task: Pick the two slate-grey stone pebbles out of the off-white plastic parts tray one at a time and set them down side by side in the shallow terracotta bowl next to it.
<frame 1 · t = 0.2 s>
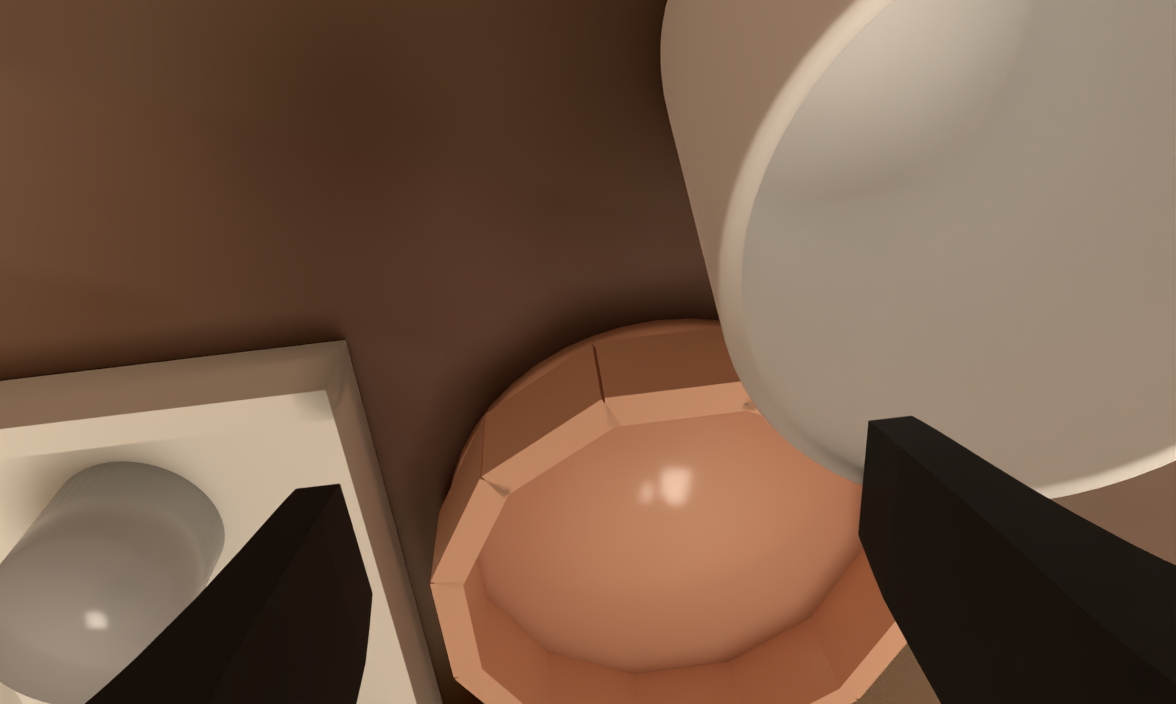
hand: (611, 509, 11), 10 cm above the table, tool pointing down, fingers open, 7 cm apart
tray: (202, 623, 25), on the table
bowl: (668, 514, 25), on the table
pebble b: (140, 527, 22), point 1 cm above the table, touching tray
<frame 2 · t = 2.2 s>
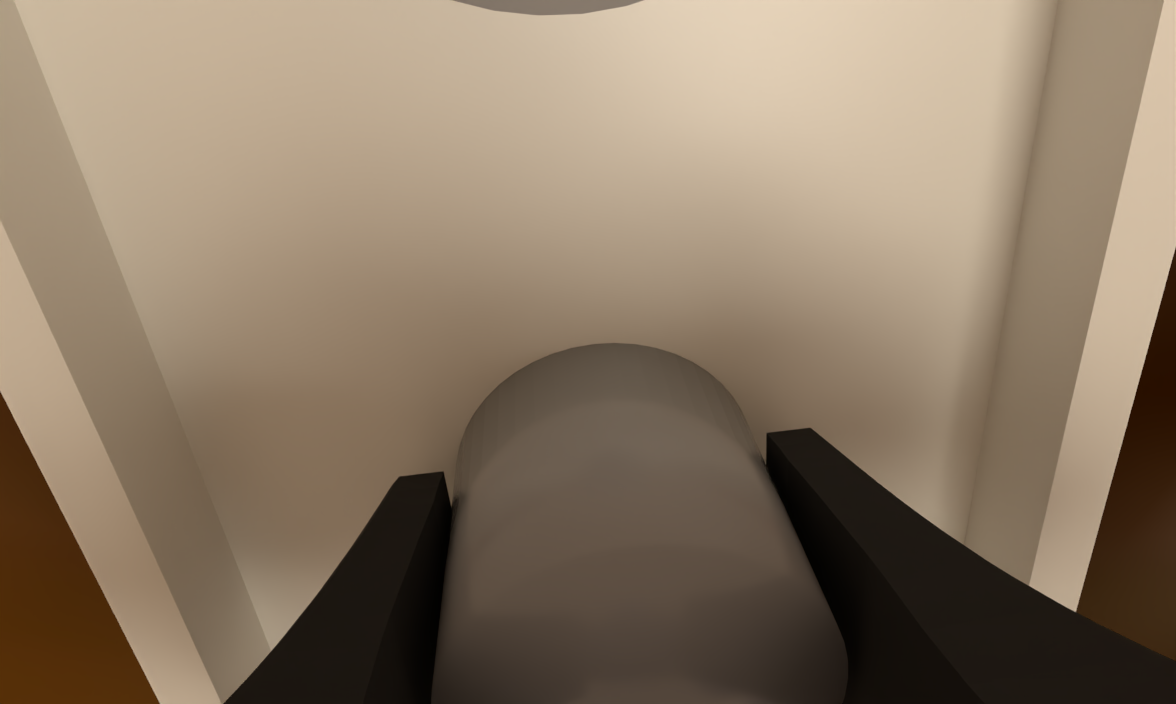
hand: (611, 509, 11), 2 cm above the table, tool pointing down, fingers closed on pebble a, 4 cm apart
tray: (573, 160, 11), on the table
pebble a: (606, 474, 12), point 1 cm above the table, touching gripper, tray
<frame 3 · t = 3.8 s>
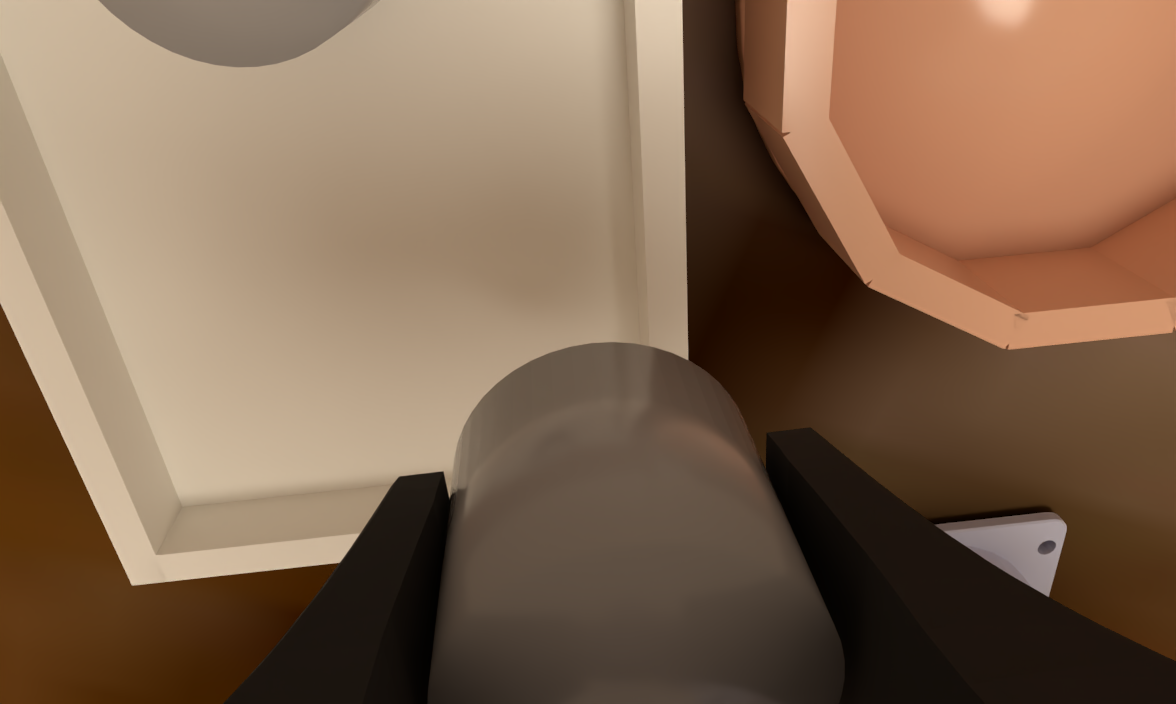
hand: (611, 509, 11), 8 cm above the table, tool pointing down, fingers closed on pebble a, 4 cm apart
tray: (350, 142, 17), on the table
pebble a: (603, 473, 12), point 8 cm above the table, touching gripper
when the fingers open (4 cm above the table, at t = 5.6 s): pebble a drops 3 cm, resting on bowl.
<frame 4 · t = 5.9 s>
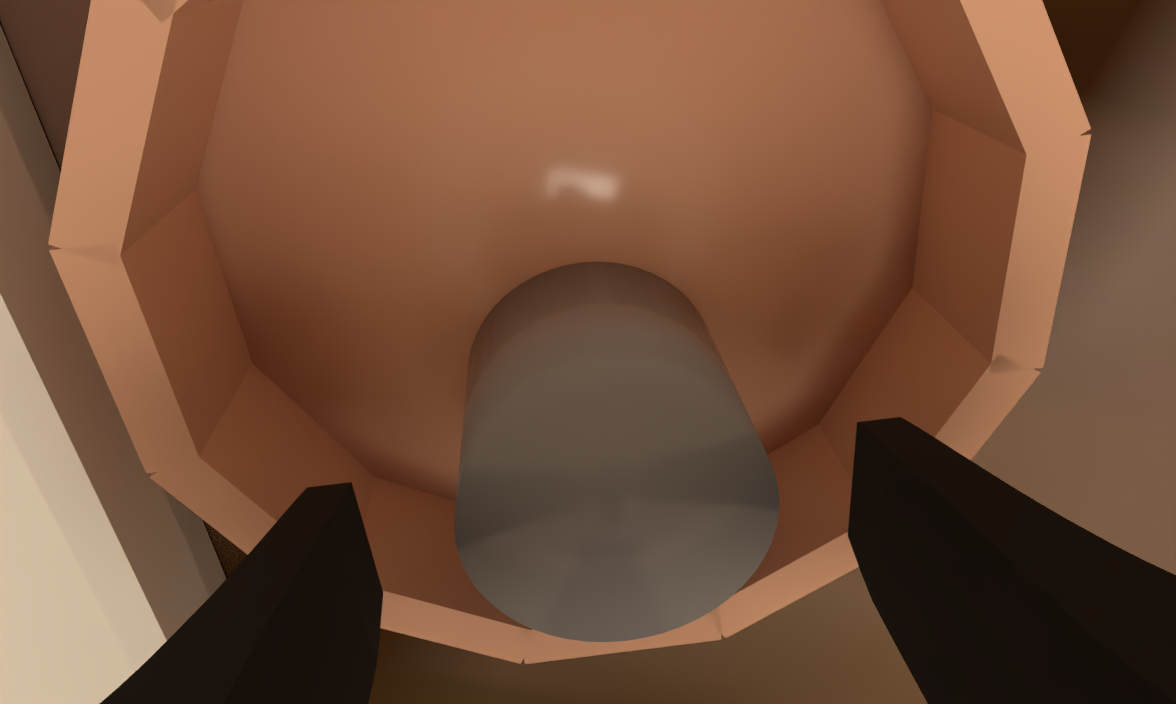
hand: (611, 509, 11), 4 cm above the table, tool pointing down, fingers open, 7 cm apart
bowl: (574, 225, 14), on the table
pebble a: (592, 377, 15), point 1 cm above the table, touching bowl
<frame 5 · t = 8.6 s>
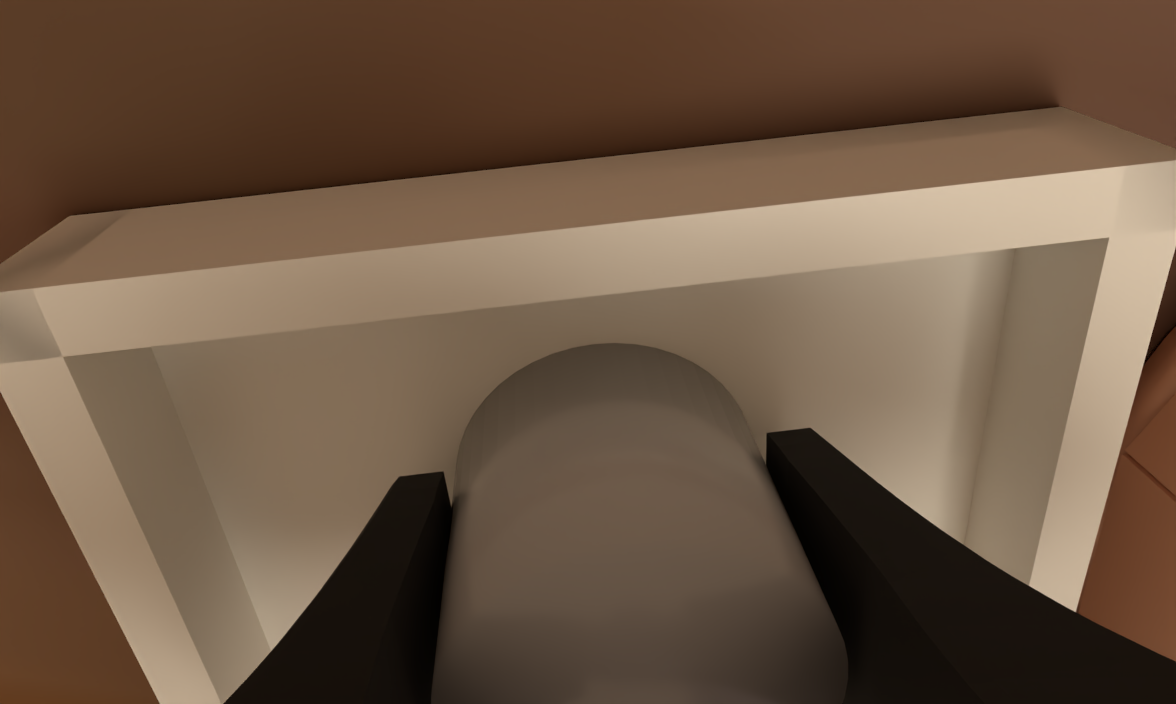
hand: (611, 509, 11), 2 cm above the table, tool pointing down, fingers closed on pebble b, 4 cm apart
tray: (621, 644, 15), on the table
pebble b: (606, 474, 12), point 1 cm above the table, touching gripper, tray
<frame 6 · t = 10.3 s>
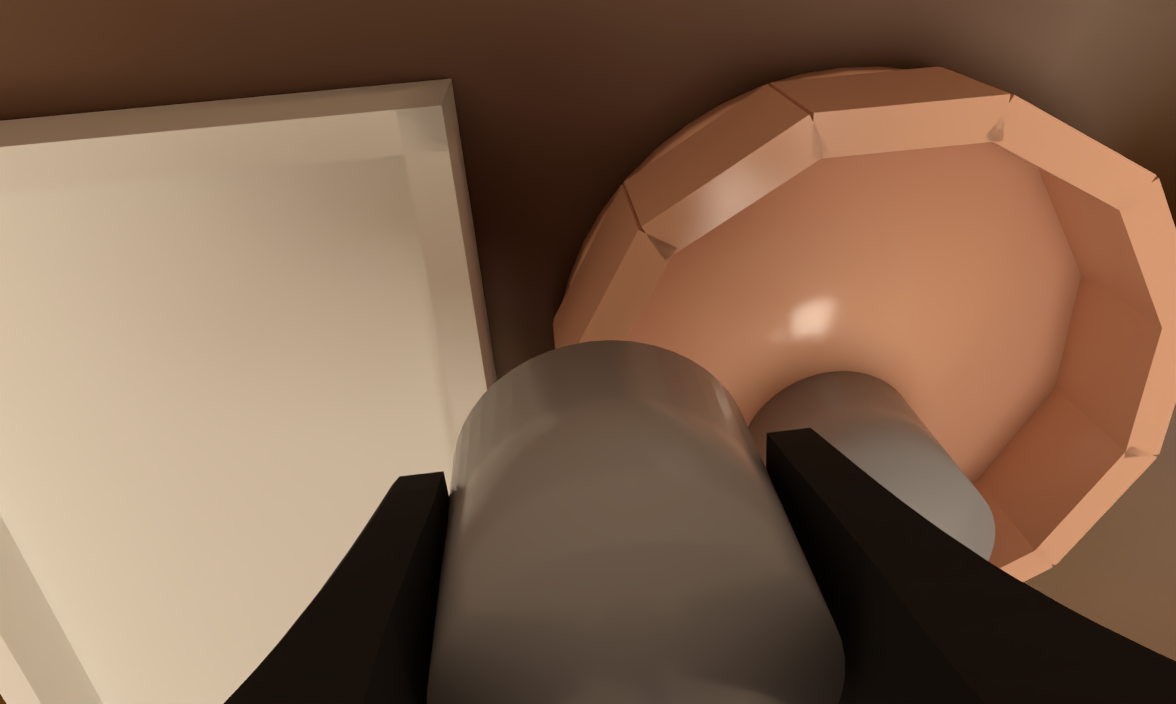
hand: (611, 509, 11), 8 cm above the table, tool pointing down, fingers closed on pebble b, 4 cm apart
tray: (249, 472, 21), on the table
bowl: (821, 342, 20), on the table
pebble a: (826, 447, 21), point 1 cm above the table, touching bowl
pebble b: (603, 471, 12), point 8 cm above the table, touching gripper
when the fingers open (4 cm above the table, at t = 11.9 s): pebble b drops 3 cm, resting on bowl.
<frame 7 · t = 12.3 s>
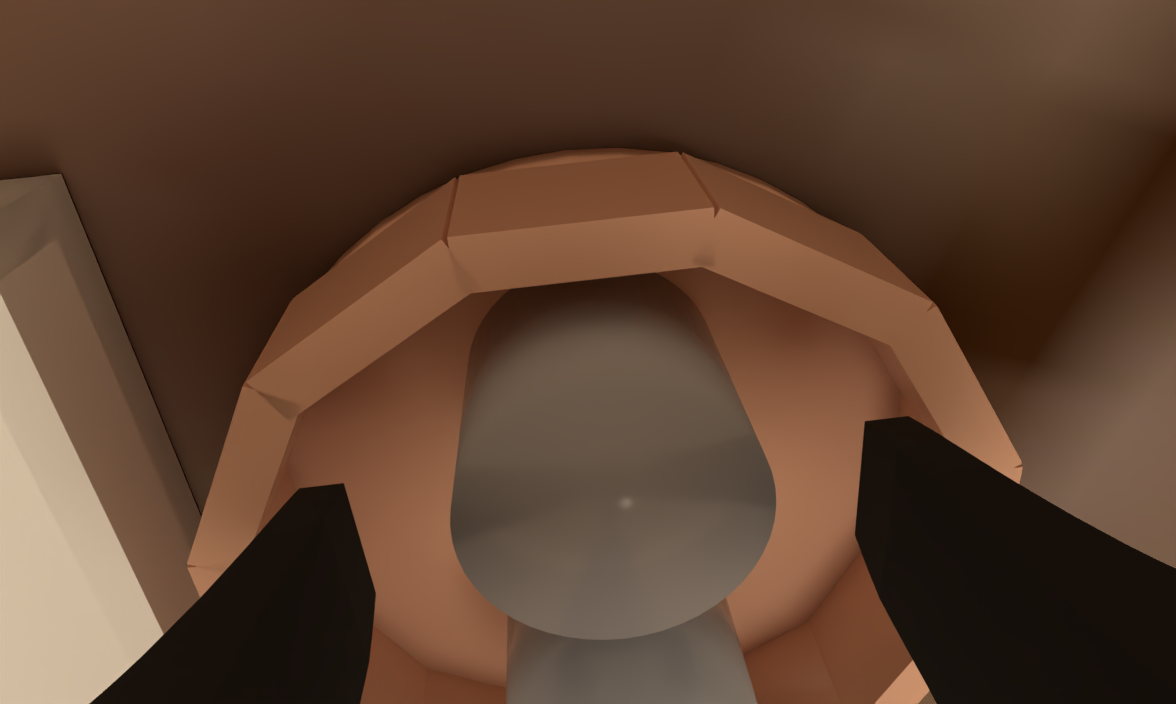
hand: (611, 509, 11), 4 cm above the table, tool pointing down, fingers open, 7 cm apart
bowl: (599, 468, 17), on the table
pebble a: (613, 591, 17), point 1 cm above the table, touching bowl
pebble b: (592, 375, 15), point 1 cm above the table, touching bowl
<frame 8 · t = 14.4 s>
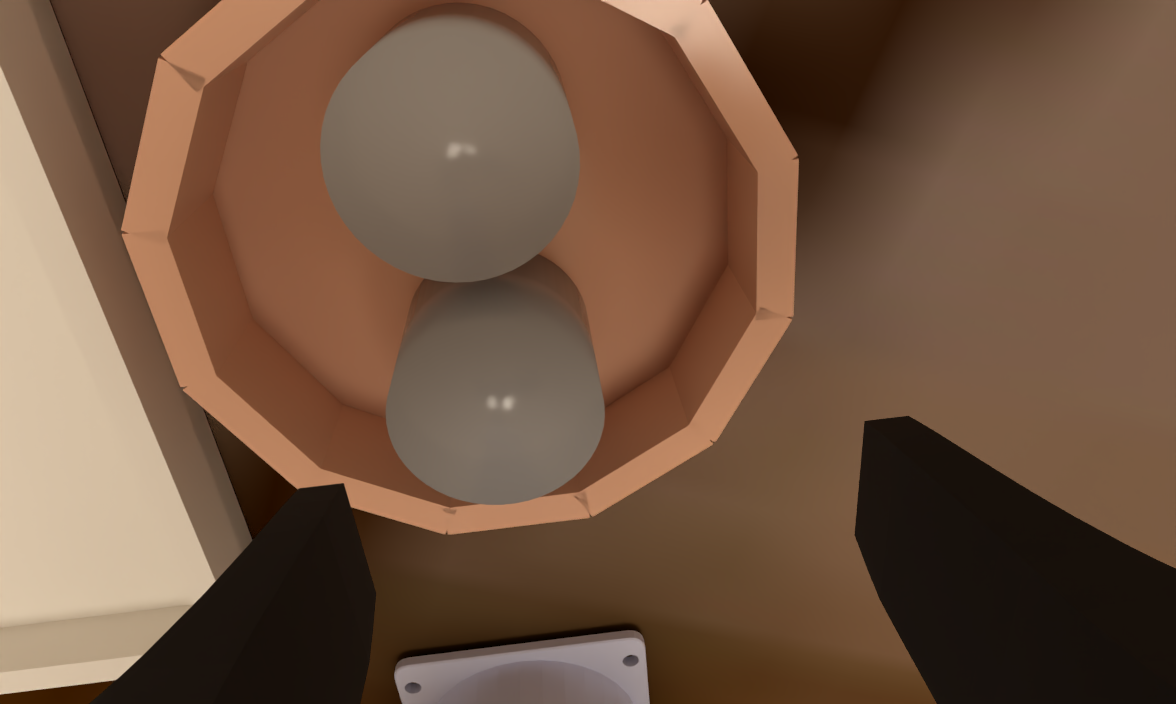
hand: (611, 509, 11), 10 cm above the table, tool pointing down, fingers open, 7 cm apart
bowl: (483, 219, 20), on the table
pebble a: (498, 329, 20), point 1 cm above the table, touching bowl
pebble b: (464, 113, 18), point 1 cm above the table, touching bowl
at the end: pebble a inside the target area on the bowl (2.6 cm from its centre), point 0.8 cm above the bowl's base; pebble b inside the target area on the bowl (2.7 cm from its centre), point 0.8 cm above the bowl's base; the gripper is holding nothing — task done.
